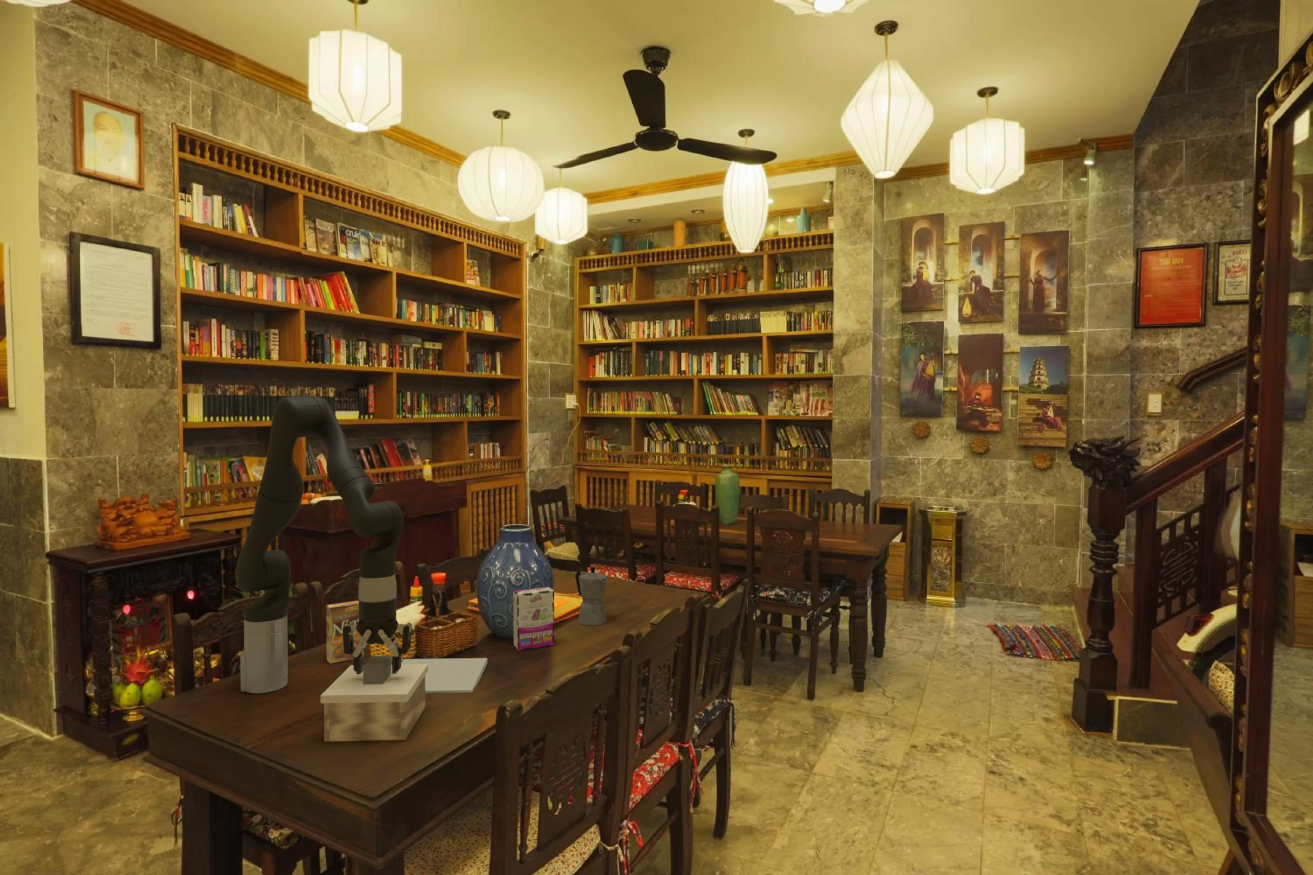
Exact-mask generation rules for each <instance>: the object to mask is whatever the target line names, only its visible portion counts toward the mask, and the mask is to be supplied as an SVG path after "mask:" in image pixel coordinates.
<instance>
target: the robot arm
mask: <svg viewBox="0 0 1313 875" xmlns="http://www.w3.org/2000/svg"><path fill="white" fill-rule="evenodd" d="M271 418H272V420H271V427H270V434H269V442H268V448H267V449H268V450H267V456H266V459H265V464H264V467H263V468H264V469H263V473H262V476H261V480H260V484H259V488H258V491H257V495H256V499H255V505H254V509H253V513H252V517H251V520H250V521H251V522H250V525H249V529H248V532H247V535H246V537H245V540H244V543H243V545H242V547H241V548H242V549H241V551H240V553H239V557H238V559H237V563H236V566H235V583H236V586H237V589H239V590H240V591H241V592H244V593H256V592H260V591H261V592H262V591H265V592H264V593H263V594H262V595H261V596H260V597H259V598H258V599H256V600H255V601H253V602H251V603H250V604H248V605H247V606H245V608H244V612H243V619H244V620H243V627H244V628H243V631H244V632H243V634H244V635H243V636H244V637H243V638H244V639H243V641H244V645H243V646H244V648H243V650H241V652H240V692H245V693H250V694H265V693H271V692H275V691H278V690H281V689H283V688H285V687H286V686H287V685H288V680H289V679H288V676H289V675H288V674H289V673H288V672H289V671H288V670H289V669H288V665H289V664H288V608H289V604H290V588H291V587H290V586H291V572H292V571H291V562H290V558H289V556H288V554H287V553H286V551H284V550H281V549H272V550H268V549H269V547H270V546H271V544H272V542H273V541H274V540H275V539H276V538H277V537H278V535H280V534H282V532H283V531H284V530H285V529H286V528H287V527H288V526H289V525H290V524H291V523H292V522H293V521H294V519H295V518H296V516H297V514H298V513H299V510H300V506H301V503H302V500H303V497H304V496H303V495H304V491H305V484H304V480H303V477H302V476H301V473H300V471H299V469H298V468H297V464H296V463H295V459H294V449H295V446H296V442H297V440H298V438H307V437H310V438H311V437H317V438H319V439H320V440H321V442H322V443H323V444H324V445H325V447H326V449H327V450H326V451H327V454H326V455H327V457H326V474H327V478H328V479H329V482H330V483H331V485H332V487H333V489H335V491H336V492H337V493H338V496H339V497H340V498H341V499H342V502H343V505H344V508H345V512H346V516H347V518H348V522H349V525H350V528H351V529H352V531H353V532H354V533H355V534H356V535H358V536H360V537H362V538H366V539H367V538H374V537H375V538H374V541H373V543H372V544H371V545H369V546H366V547H365V548H364V549H362V550H361V552H360V555H359V581H358V590H357V591H358V592H357V593H358V604H359V622H358V624H354V625H352V624H351V623H348V624H347V625H346V626H344V627H343V645H344V653H345V654H350V655H352V656H353V662H352V663H353V664H352V665H353V666H354V667H353V669H354V671H356V674H361V673H362V672H363V665H364V657H363V654H362V651H363V650H364V649H365V648H366V647H367V645H375V644H378V645H386V647H387V648H386V649H388V650H389V651H390V652H391V654H392V656H391V665H392V674H396V673H397V672H398V671H399V669H400V668H401V662H402V655H405V654H407V653H408V651H410V650H411V644H412V630H413V628H412V627H413V624H412V623H411V622H407V623H399V622H398V619H397V594H398V590H397V589H398V588H397V579H396V552H397V549H398V547H399V543H400V538H401V535H402V531H403V528H404V514H403V510H402V508H401V507H400V506H399V505H398V504H397V503H396V502H394V501H393V500H388V501H387V500H386V501H385V500H384V501H379V502H369V501H370V500H372V498H373V497H374V495H375V493H376V485H375V484H374V482H373V480H372V479H371V477H370V476H369V475H368V474H367V472H366V470H365V469H364V468H363V467H362V465H361V464H360V462H359V461H358V458H356V456H355V453H354V452H353V450H352V449H351V446H350V444H349V441H348V440H347V438H346V435H345V433H344V431H343V428H342V426H341V425H340V422H339V420H338V418H337V416H336V414H335V412H334V410H333V408H332V406H331V405H330V404H329V402H328V401H327V400H326V399H325V398H324V397H321V396H318V395H316V396H315V395H303V396H302V395H300V396H298V395H296V396H295V395H294V396H285V397H282V398H280V399H279V400H278V401H277V403H276V405H275V407H274V410H273V414H272V417H271ZM355 630H357V631H358V633H359V634H360V635H361V637H362V639H361V640H360V642H359V644H358V645H357V647H354V643H353V634H354V633H355ZM397 631H399V634H400V635H401V636H402V640H401V645H400V644H399V640H398V639H397V637H396V635H395V634H396V632H397ZM364 651H365V650H364Z"/></svg>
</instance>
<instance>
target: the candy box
mask: <svg viewBox="0 0 1313 875" xmlns="http://www.w3.org/2000/svg"><path fill="white" fill-rule="evenodd" d="M325 606H326V610H325V611H326V660H327V662H328V663H329V664H334V663H339V662H347V661H352V660H353V656H352V655H350V654H345V653H344V645H343V627H344V626H346V625H347V624H348V623H351V624H352V625H354V624H358V622H359V604H358V600H352V601H351V600H350V601H344V602H339V603H338V602H337V603H329V604H326V605H325ZM361 639H362V637H361V635H360V634H359V633H358V631H357V630H355V633H354V634H353V643H354V647H357V645H358V644H359V642H360V640H361ZM362 654H363V658H364V657H365V650H363V651H362Z"/></svg>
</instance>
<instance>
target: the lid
mask: <svg viewBox="0 0 1313 875" xmlns="http://www.w3.org/2000/svg"><path fill="white" fill-rule="evenodd" d="M353 665H354V664H350V665H349V666H348V667H347V669H346V670H345V671H344V672H343V673H342V674H340V675H339V677H337V678H336V680H334V681H333V682H332V683H331V685H330V686H328V688H326V690H325V691H324V692H322V693H321V694H320V704H324V703H373V702H408V700H409V699H410V697H411V696H412V694H413V693H414V691H415V690H416V688H417V687H418V685H419V684H420V682H421V681H422V679H423V678H424V676H425V675H426V674H427V672H428V664H406V665H401V668H400V669H399V671H398V672H397V673H396V674H392V655H372V656H371V657H370V658H369V659H368V660H367V661H366V662H365V663H363V672H362V673H361V674H356V671H354V669H353V667H354V666H353Z"/></svg>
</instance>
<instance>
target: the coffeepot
mask: <svg viewBox="0 0 1313 875" xmlns="http://www.w3.org/2000/svg"><path fill="white" fill-rule="evenodd" d="M574 578H575V581H576V587H577V591H578V595H579V596H580V597H582V601H581V602H580V603H581V604H580V608H579V614H578V619H577V620H578V623H579V624H580V625H583V626H586V625H588V626H589V627H594V626H595V627H596V625H598V626H602V625H604V624H606V622H608V620H607V615H606V614H607V613H606V608H605V603H604V597H605V594H606V588H607V582H608V575H606V574H604V573H600V572H596V567H595V566H590V572H586V571H583V570H577V572H576V573H575V576H574Z"/></svg>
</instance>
